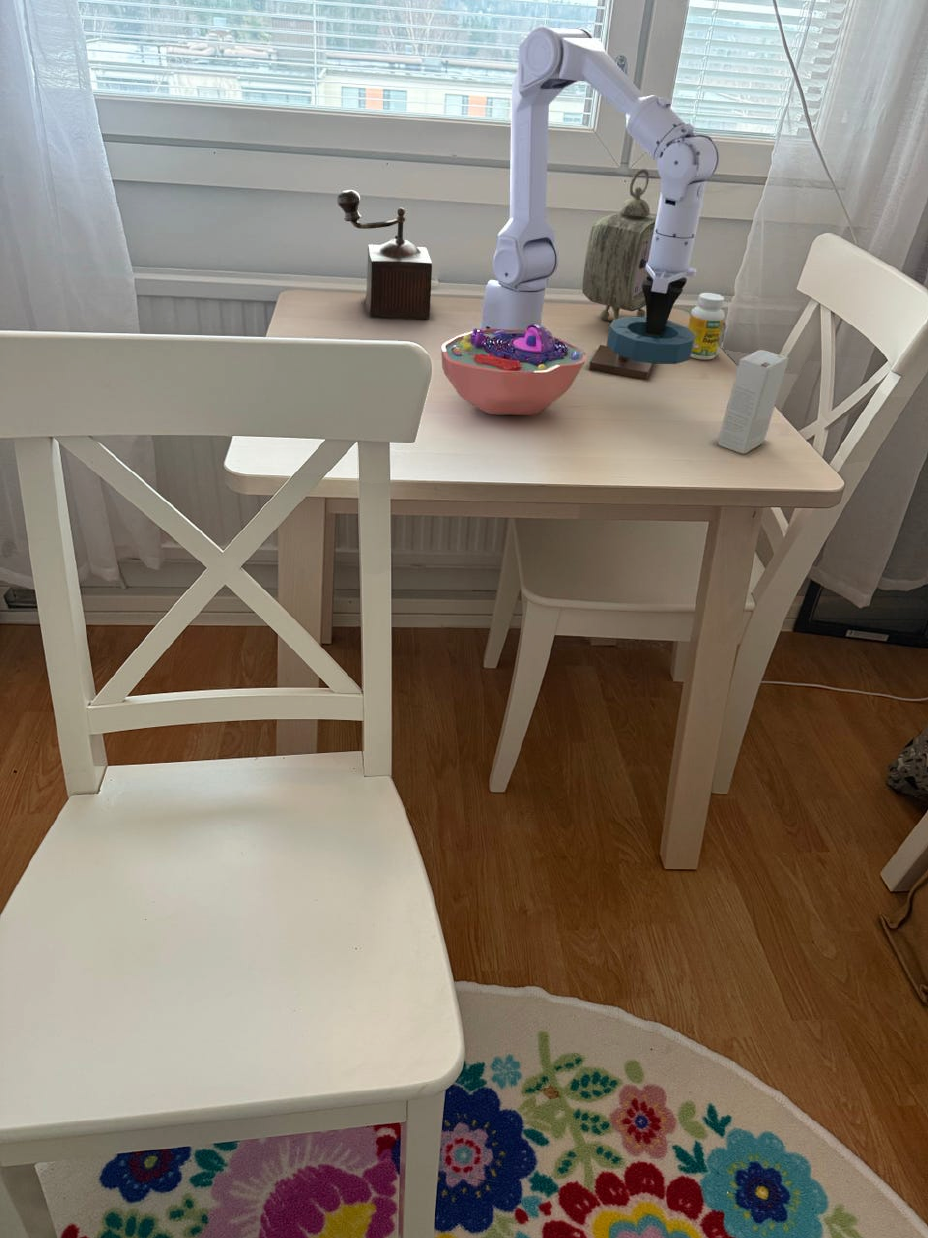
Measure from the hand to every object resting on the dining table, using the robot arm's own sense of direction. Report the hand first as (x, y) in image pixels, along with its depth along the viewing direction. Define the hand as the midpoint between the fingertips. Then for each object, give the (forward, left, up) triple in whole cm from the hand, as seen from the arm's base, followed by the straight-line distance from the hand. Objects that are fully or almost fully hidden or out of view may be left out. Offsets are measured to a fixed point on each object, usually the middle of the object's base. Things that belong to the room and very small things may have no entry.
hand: (655, 330), depth 141 cm
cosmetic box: (+15, -16, -9) cm, 23 cm away
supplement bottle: (+6, +19, -9) cm, 22 cm away
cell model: (-17, -19, -9) cm, 26 cm away
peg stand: (-5, +7, -8) cm, 12 cm away
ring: (0, -5, -1) cm, 5 cm away
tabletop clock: (-10, +29, -9) cm, 32 cm away
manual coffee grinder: (-48, +14, -9) cm, 51 cm away
